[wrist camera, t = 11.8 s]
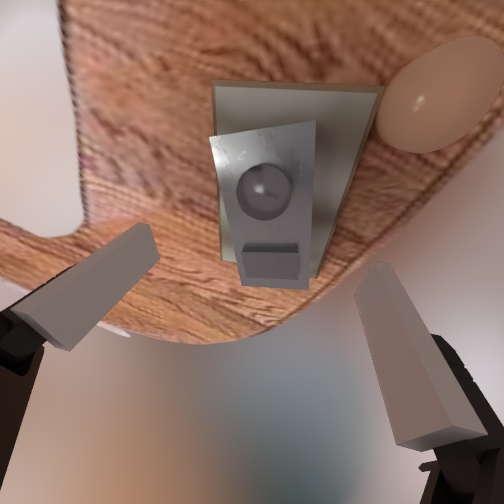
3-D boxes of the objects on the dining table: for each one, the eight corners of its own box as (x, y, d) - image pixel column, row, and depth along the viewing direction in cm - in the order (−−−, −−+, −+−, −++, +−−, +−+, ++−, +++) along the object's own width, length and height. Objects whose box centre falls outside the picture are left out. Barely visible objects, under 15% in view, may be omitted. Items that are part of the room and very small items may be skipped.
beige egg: (386, 57, 15) (415, 35, 11) (471, 59, 14) (537, 35, 10) (357, 143, 19) (372, 149, 15) (425, 148, 18) (460, 156, 14)
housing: (307, 255, 24) (308, 295, 18) (253, 254, 25) (239, 291, 20) (312, 120, 16) (316, 120, 11) (234, 132, 18) (204, 138, 12)
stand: (221, 83, 18) (208, 78, 16) (375, 90, 16) (387, 84, 14) (226, 250, 30) (219, 262, 28) (316, 267, 28) (317, 281, 25)
